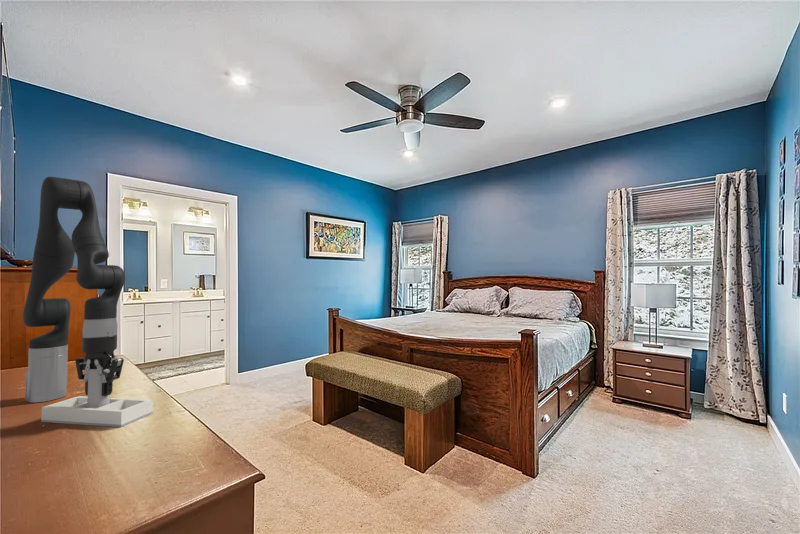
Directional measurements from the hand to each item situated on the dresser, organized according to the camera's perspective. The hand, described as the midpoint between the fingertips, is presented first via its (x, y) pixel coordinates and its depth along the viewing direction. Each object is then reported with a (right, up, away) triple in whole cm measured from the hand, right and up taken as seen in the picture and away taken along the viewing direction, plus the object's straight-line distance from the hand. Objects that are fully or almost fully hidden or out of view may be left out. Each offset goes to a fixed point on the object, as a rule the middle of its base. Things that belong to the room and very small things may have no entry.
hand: (98, 394), depth 97 cm
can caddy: (0, -6, 0) cm, 6 cm away
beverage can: (0, -5, 0) cm, 5 cm away
